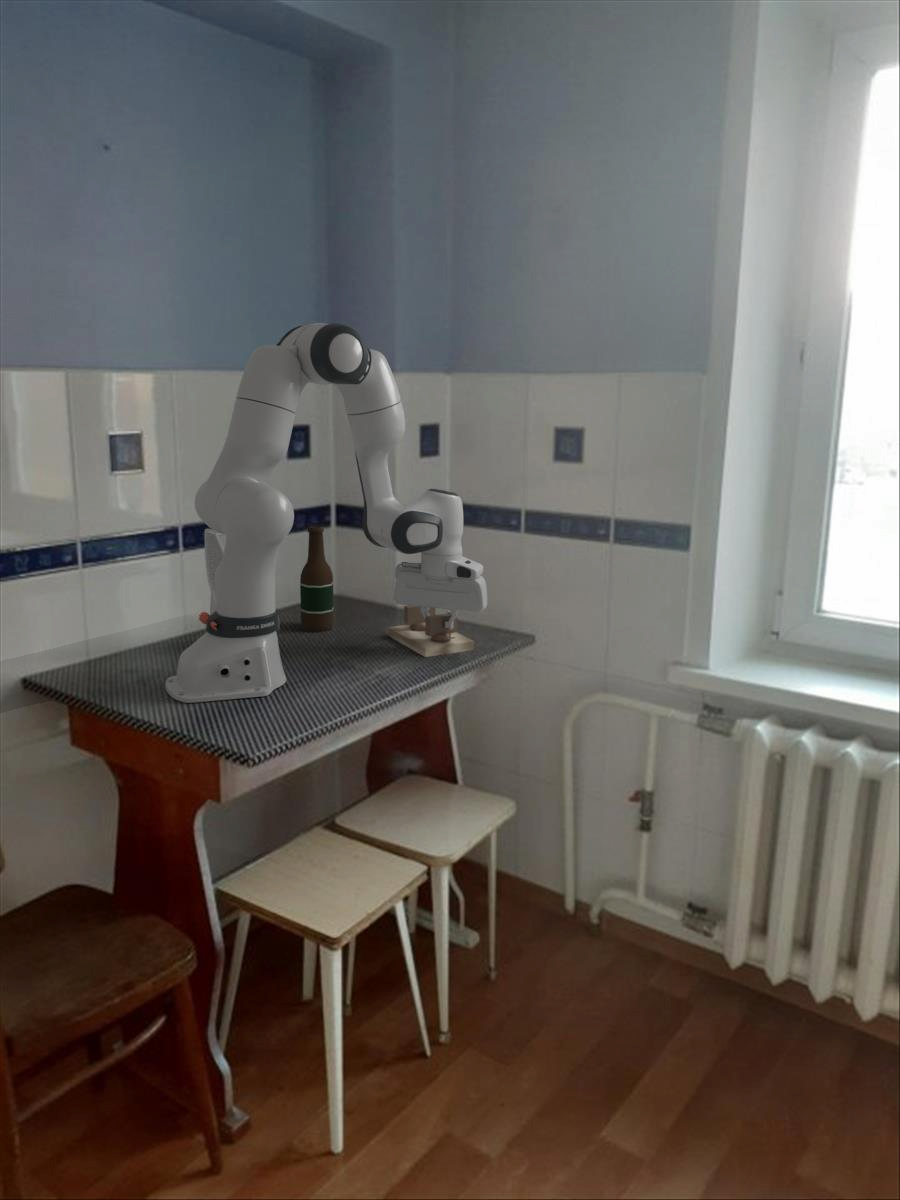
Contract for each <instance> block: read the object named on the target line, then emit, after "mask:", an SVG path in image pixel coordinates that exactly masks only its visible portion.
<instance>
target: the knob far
mask: <svg viewBox="0 0 900 1200" xmlns="http://www.w3.org/2000/svg"><path fill="white" fill-rule="evenodd" d="M403 607H404V609H403V611H404V613H403V617H404V618H403V623H404V624H405V625H410V629H412V630H416V631H424V630H425V618H424V616H423V615H422V613H421V606H411V605H403ZM428 613H429V615H430V616H433V615H436V608H431V607H430V609H429V610H428Z"/></svg>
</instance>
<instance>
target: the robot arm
mask: <svg viewBox="0 0 900 1200" xmlns="http://www.w3.org/2000/svg"><path fill="white" fill-rule="evenodd" d="M246 363H247V364H246V365H245V368H244V370H243V374H242V377H241V378H240V379H241V380H240V382H239V386H238V389H237V394H236V397H235V401H234V406H233V410H232V415H231V419H230V422H229V426H228V431H227V436H226V438H225V442H224V444H223V447H222V449H221V452H220V454H219V456H218V458H217V460H216V462H215V464H214V466H213V469H212V470H211V473H210V474H209V476H208V478H207V479H206V481H203V483H202V484H201V485H200V486H199V487H198V489H197V491H196V494H195V497H194V508H195V512H196V514H197V516H198V518H199V519H200V520H201V521H202V522H203V523H204V524H205V525H207V527H208V528H209V529H212V530H214V531H216V532H218V533H221V534H224V535H225V539H226V540H225V548H224V553H223V558H222V561H221V563H220V565H219V566H218V567H217V569H216V571H215V590H216V611H215V612H214V613H213V614H212V615H211V616H210V613H208V612H206V611H202V612H200V614H199V615H198V616H199V617H198V620H199V621H200V622H201V623H202V624H203V625H205V626H206V632H205V633H203V635H201V637H199V638H198V639H197V640H195V641H194V642H193V643H192V644H191V645H189V646H188V647H187V648H186V649H185V650H184V651H182V653H181V654H179V655H180V656H179V657H178V662H177V668H176V675H172V676H169V677H168V678H167V679H166V680H165V686H164V687H165V688H164V689H165V692H166V693H167V694H168V695H169V696H170V697H171V698H173V699H174V700H176V701H178V702H182V703H187V704H191V703H202V702H215V701H225V700H227V701H228V700H236V699H237V700H238V699H247V698H257V697H267V696H269V695H270V694H271V693H272V692H273V691H274V690H275V689H277V688H279V687H281V686H283V685H284V684H285V683H286V682H287V676H286V673H285V671H284V667H283V663H282V658H281V653H280V646H279V640H278V638H279V636H280V618H279V610H278V608H277V606H276V605H277V604H276V603H277V602H276V601H277V600H276V595H277V594H276V571H277V564H278V557H279V553H280V551H281V546H282V543H283V540H284V539H286V537H287V536H288V535H289V533H290V532H291V530H292V528H293V526H294V522H295V521H294V520H295V512H294V507H293V504H292V503H291V501H290V499H289V498H288V497H287V496H286V495H285V494H283V493H282V492H281V491H279V490H278V489H277V488H275V487H273V486H272V485H269V484H268V482H269V480H270V478H271V476H272V474H273V472H274V470H275V469H276V467H277V466H278V465H279V463H280V462H281V461H283V459H285V457H286V455H287V454H288V449H289V446H290V441H291V437H292V431H293V428H294V425H295V420H296V419H295V418H296V415H297V411H298V405H299V399H300V397H301V394H302V392H303V390H304V388H305V387H306V386H307V384H309V383H312V384H315V385H318V386H319V385H320V386H321V385H333V384H334V385H335V386H336V388H337V389H338V390H339V393H340V395H341V397H342V398H343V403H344V408H345V413H346V416H347V419H348V423H349V428H350V430H351V435H352V440H353V444H354V445H353V447H354V454H355V460H356V461H355V462H356V466H357V472H358V477H359V482H360V487H361V492H362V497H363V513H362V531H363V533H364V536H365V537H366V539H367V540H368V541H369V542H370V543H371V544H373V545H375V546H377V547H381V548H384V549H385V548H386V549H388V550H390V551H394V552H398V553H401V554H404V555H414V554H418V553H419V554H420V562H408V561H402V562H401V563H399V564H397V565H396V567H395V569H394V570H395V571H394V577H395V579H396V581H395V585H394V586H395V587H394V596H393V600H394V601H395V603H396V604H397V605H402V606H407V605H411V606H421V613H422V615H423V616H424V618H425V619H426V617H427V616H430V615H429V613H428V610H429V609H430V607H431V608H435V609H442V610H449V611H450V614H453V615H452V617H451V618H450V620H446V621H445V629H453V624H454V620H455V618H456V616H457V617H458V615H459V613H460V611H462V612H472V613H482V612H483V611H484V610H485V609H486V608H487V607H488V589H487V581H486V580H485V578H484V577H483V576H482V574H483V573H484V566H483V564H481V563H479V562H477V561H475V560H472V559H470V558H467V557H465V556H463V547H462V538H463V537H462V536H463V534H464V508H463V507H464V506H463V501H462V498H461V496H460V495H458V493H455V492H452V491H447V490H445V489H444V490H443V489H438V488H429V489H426V490H425V492H424V493H423V494H422V495H421V496H419V497H418V498H417V499H415V500H414V501H412V502H409V503H407V504H401V503H400V502H399V501H398V500H397V499H396V497H395V495H394V493H393V488H392V483H391V477H390V471H389V465H388V459H389V458H388V457H389V454H390V452H391V451H392V450H393V449H394V448H395V447H396V446H397V445H398V444H400V442H401V441H402V439H403V437H404V435H405V432H406V418H405V411H404V407H403V403H402V399H401V398H402V397H401V395H400V391H399V388H398V384H397V382H396V379H395V375H394V374H393V371H392V369H391V367H390V364H389V362H388V360H387V358H386V356H385V355H384V354H383V353H382V352H380V351H379V350H376V349H371V348H369V347H367V345H366V343H365V340H364V339H363V338H362V336H361V335H360V334H359V333H358V332H357V331H356V330H355V329H354V328H352V327H350V326H348V325H345V324H342V323H335V322H334V323H324V322H314V323H309V324H306V325H298V326H296V327H293V328H292V329H290V330H288V331H287V332H286V333H284V335H283V336H282V337H281V338H280V340H279V342H277V344H264V345H261V346H258V347H256V348H255V349H254V350H253V351H252V353H251V354H250V356H249V358H248V360H247V362H246Z"/></svg>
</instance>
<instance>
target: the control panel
mask: <svg viewBox="0 0 900 1200" xmlns="http://www.w3.org/2000/svg"><path fill="white" fill-rule="evenodd" d="M387 636H388V637H390V638H391V639H392V640H395V641H397V642H398V643H400V644H401V645H403V646H405V647H407V648H409V649H410V650H412V651H414V652H415V653H417V654H419V655H420V656H423V657H424V658H427V657H428V658H429V657H435V656H436V657H437V656H443V655H449V654H456V653H463V652H469V651H474V649H475V647H474V646H475V641H474V640H473V639H470V638H469V637H466V636H464V635H462V633H461V634H460V633H459V632H454V633H451V640H450V641H448V642H434V641H432V640H431V636H427V635H425V630H424V631H416V630H412V629H410V625H407V624H405V625H395V626H389V627H387Z"/></svg>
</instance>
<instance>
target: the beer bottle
mask: <svg viewBox="0 0 900 1200" xmlns="http://www.w3.org/2000/svg"><path fill="white" fill-rule="evenodd" d="M324 531H325V530H324V527H323V526H322V525H310V526H309V527H308V528H307V532H308V547H307V548H308V551H307V561H306V562H305V564H304V566H303V568H302V571H301V573H300V583H299V588H300V589H299V590H300V595H299V596H300V621H301V623H300V624H301V629H302V630H303V631H305V632H306V631H307V632H309V633H323V632H327V631H332V629H333V626H334V621H335V619H334V618H335V617H334V616H335V615H334V614H335V611H334V610H335V608H334V577H333V574H334V573H333V571H332V568H331V566H330V565H329V564H328V561H326V556H325V546H324V543H325V542H324Z"/></svg>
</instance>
